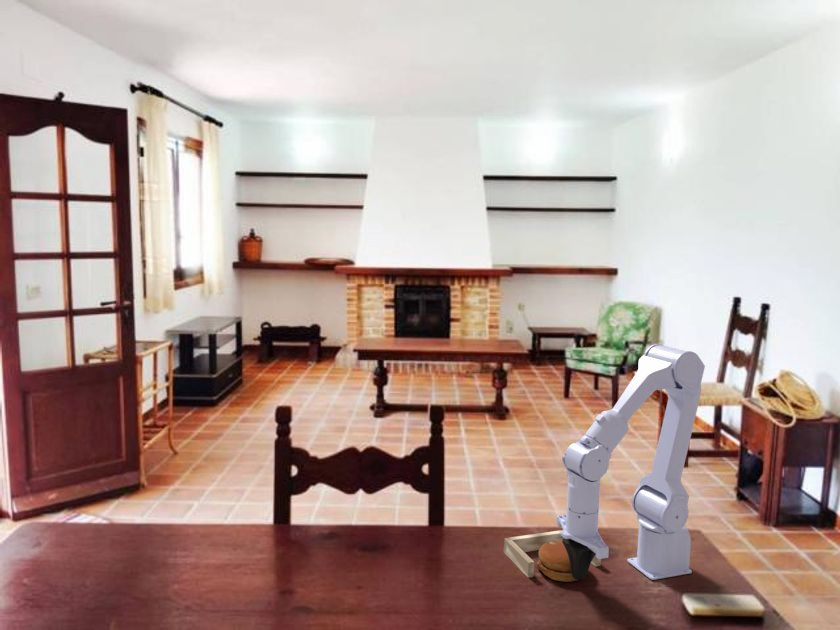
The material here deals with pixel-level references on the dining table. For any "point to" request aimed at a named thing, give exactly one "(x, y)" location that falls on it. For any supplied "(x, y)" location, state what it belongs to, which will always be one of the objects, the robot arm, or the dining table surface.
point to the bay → (531, 549)
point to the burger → (555, 561)
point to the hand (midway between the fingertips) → (579, 577)
